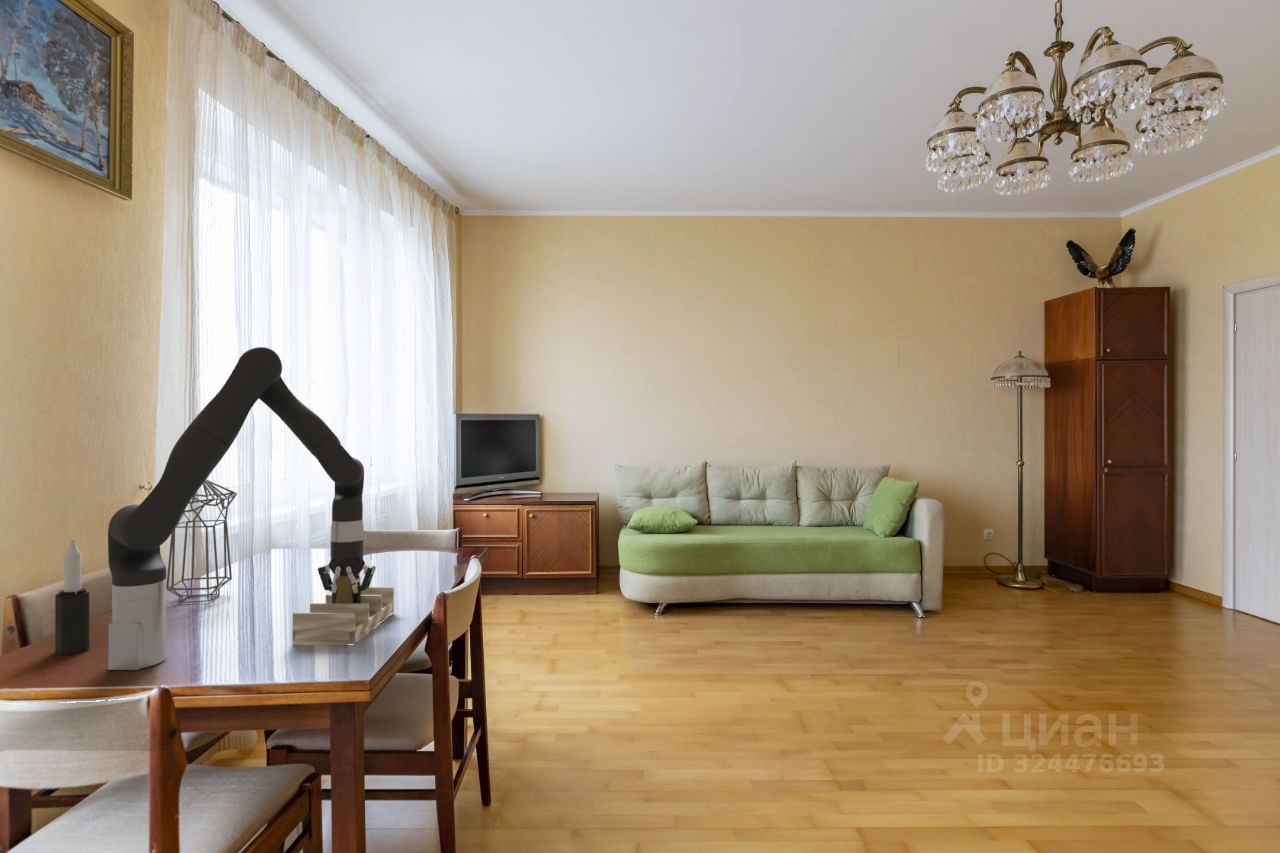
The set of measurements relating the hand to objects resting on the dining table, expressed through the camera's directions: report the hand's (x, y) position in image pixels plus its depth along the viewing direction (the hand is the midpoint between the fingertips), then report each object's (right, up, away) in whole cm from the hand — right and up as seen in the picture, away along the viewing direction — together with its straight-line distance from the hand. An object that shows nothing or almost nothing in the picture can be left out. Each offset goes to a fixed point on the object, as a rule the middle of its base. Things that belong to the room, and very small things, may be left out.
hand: (346, 606), depth 168 cm
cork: (0, -3, 0) cm, 3 cm away
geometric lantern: (-53, -5, +25) cm, 59 cm away
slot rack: (0, -5, 0) cm, 5 cm away
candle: (-53, -5, -18) cm, 56 cm away
